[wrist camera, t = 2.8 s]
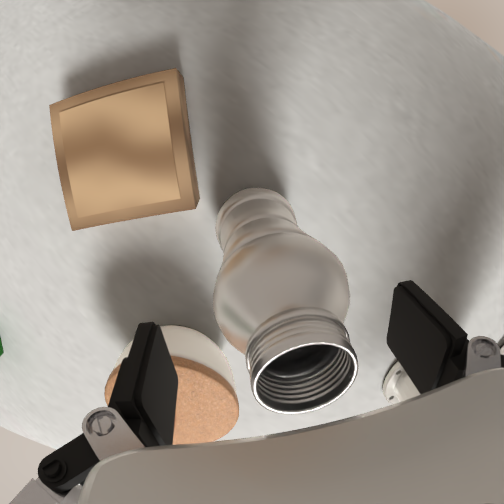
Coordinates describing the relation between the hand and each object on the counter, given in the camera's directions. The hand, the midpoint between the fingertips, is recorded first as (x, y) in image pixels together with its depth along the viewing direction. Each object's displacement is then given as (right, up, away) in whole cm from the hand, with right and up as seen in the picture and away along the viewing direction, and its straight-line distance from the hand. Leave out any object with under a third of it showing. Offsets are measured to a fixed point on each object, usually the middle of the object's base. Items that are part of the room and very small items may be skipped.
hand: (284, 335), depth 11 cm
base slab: (-12, +12, +13) cm, 22 cm away
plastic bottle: (-1, +6, +17) cm, 18 cm away
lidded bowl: (-9, -8, +22) cm, 25 cm away
